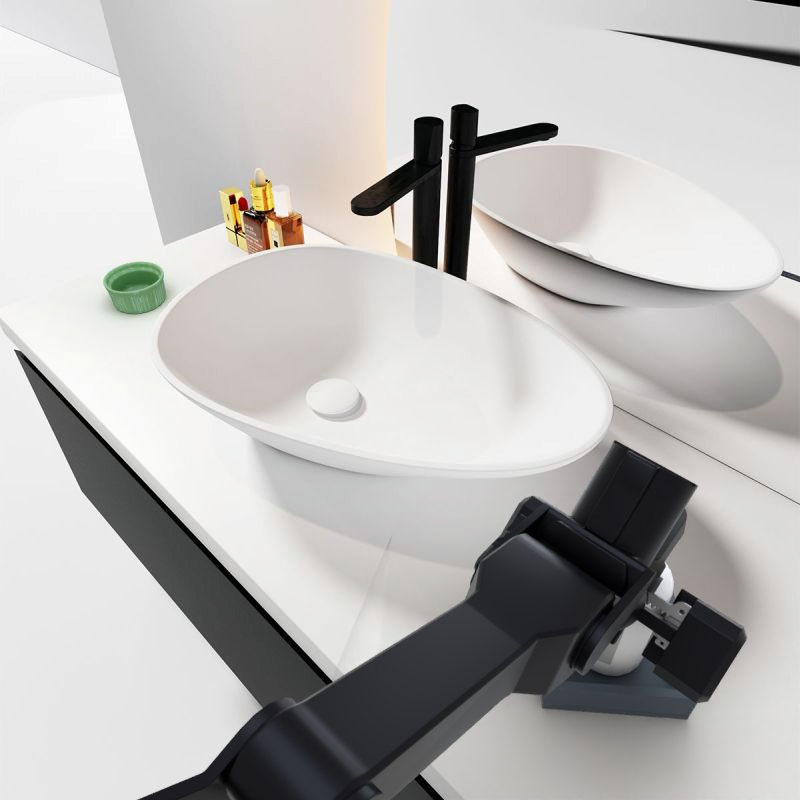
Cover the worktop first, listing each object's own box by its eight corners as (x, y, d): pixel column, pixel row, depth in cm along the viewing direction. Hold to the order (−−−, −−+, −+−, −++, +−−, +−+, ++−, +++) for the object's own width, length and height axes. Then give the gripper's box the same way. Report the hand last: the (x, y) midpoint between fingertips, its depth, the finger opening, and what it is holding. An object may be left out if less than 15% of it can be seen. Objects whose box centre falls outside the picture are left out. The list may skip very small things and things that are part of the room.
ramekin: (149, 321, 106) (141, 296, 103) (99, 311, 108) (90, 286, 105) (180, 289, 112) (174, 266, 109) (132, 280, 114) (125, 257, 111)
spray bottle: (583, 598, 69) (622, 475, 57) (652, 631, 66) (708, 509, 54) (557, 654, 64) (594, 533, 52) (630, 691, 62) (686, 573, 50)
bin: (687, 719, 61) (699, 700, 58) (542, 708, 62) (548, 688, 59) (659, 593, 70) (668, 572, 68) (533, 585, 71) (538, 563, 68)
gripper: (787, 575, 42) (789, 569, 55) (532, 427, 51) (586, 453, 65) (691, 729, 43) (716, 687, 56) (457, 556, 52) (526, 555, 66)
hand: (631, 586), depth 61 cm, fingers closed on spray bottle, 7 cm apart
